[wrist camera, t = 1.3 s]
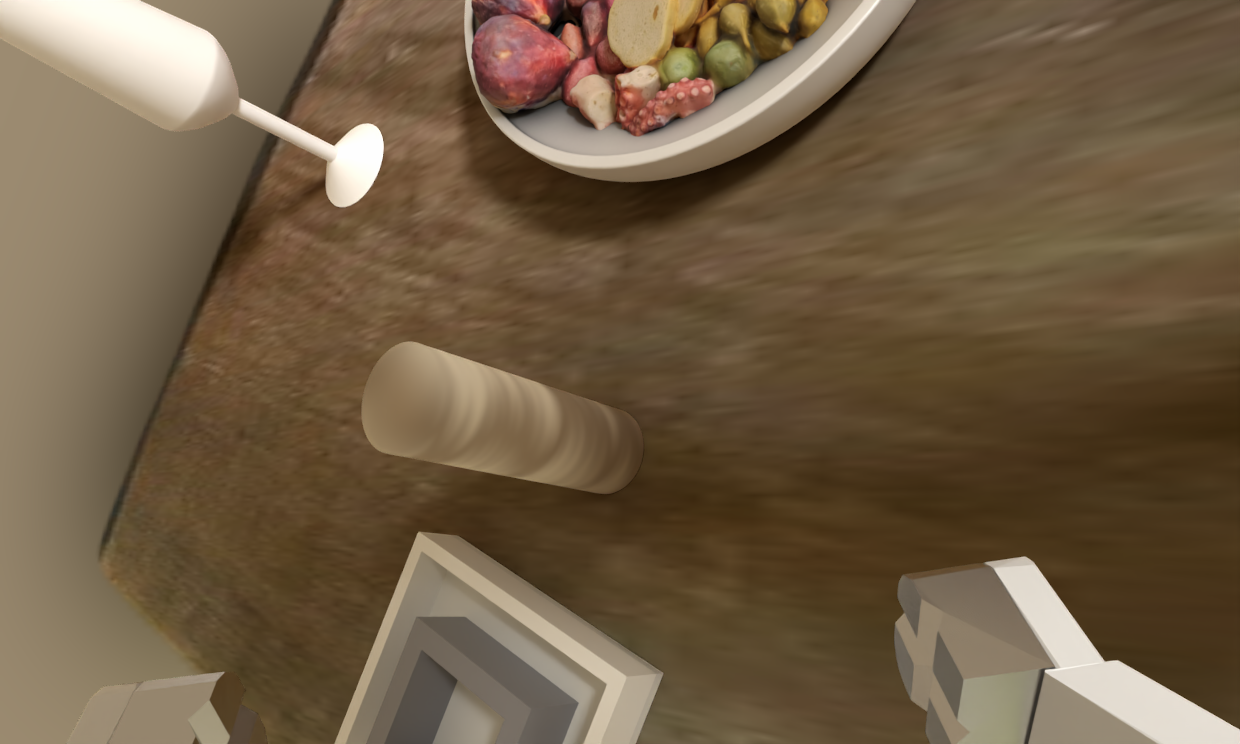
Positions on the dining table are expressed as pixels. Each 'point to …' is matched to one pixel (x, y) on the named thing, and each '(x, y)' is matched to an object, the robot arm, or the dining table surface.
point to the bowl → (663, 75)
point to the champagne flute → (170, 76)
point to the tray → (491, 662)
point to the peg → (496, 422)
